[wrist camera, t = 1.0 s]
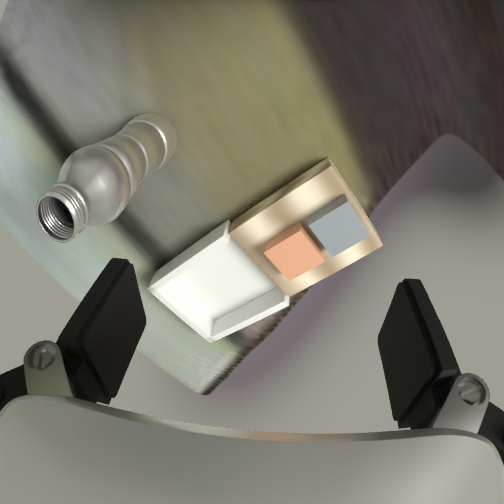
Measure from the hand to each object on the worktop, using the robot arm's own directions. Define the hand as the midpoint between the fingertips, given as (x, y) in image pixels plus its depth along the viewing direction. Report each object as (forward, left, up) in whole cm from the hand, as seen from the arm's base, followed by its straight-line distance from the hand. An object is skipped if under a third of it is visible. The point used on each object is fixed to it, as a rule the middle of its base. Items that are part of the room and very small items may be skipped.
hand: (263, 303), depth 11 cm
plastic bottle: (+11, -8, -27) cm, 31 cm away
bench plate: (+4, +12, -27) cm, 30 cm away
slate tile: (0, +12, -24) cm, 27 cm away
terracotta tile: (+6, +12, -24) cm, 27 cm away
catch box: (+19, +12, -27) cm, 35 cm away
